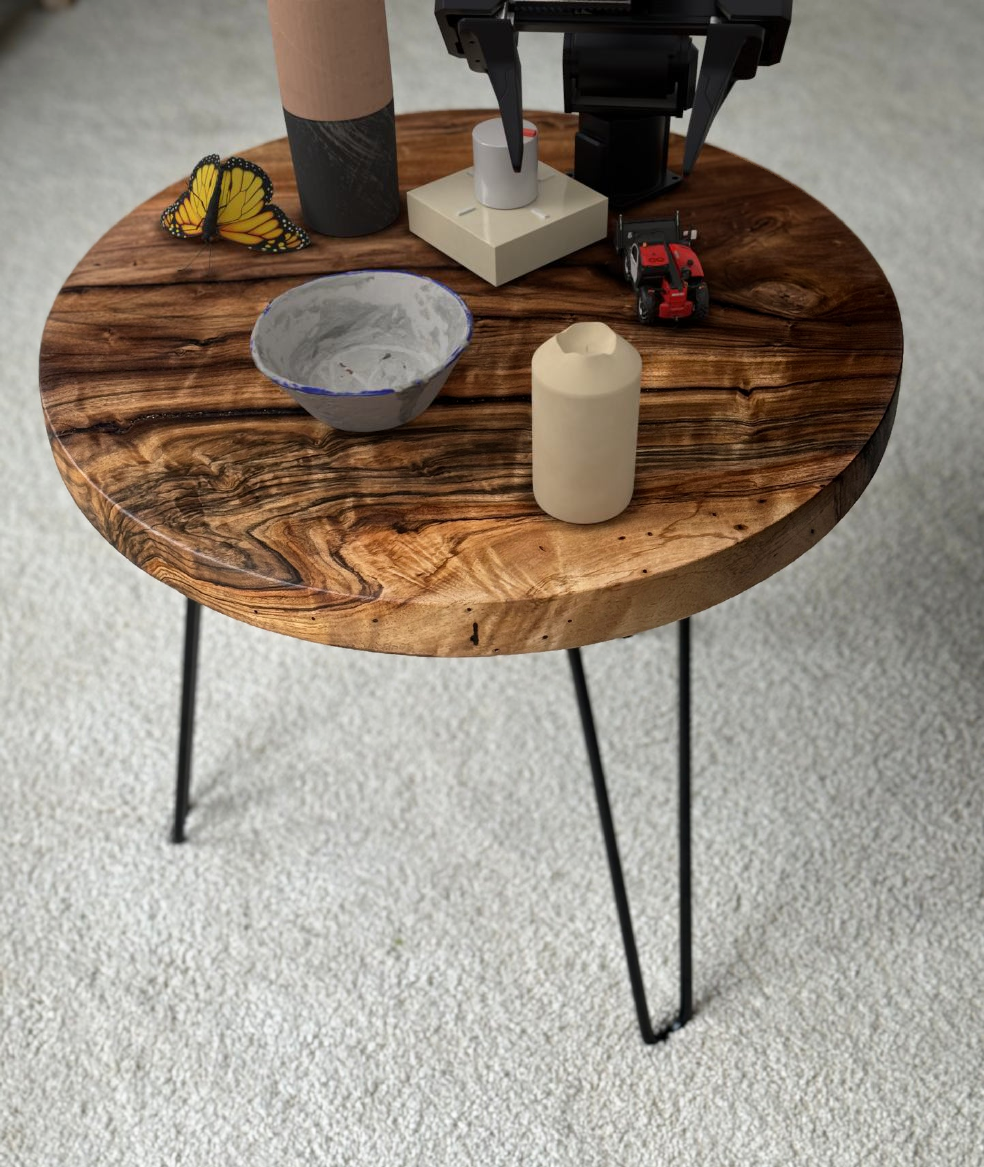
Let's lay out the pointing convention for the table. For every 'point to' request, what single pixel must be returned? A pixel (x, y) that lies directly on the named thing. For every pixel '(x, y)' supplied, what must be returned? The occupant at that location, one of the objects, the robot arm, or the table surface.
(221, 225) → the butterfly
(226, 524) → the table surface
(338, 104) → the travel mug
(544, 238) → the plate
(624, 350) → the candle
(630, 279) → the loader
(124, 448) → the table surface
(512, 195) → the tap knob
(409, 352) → the bowl
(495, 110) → the table surface
